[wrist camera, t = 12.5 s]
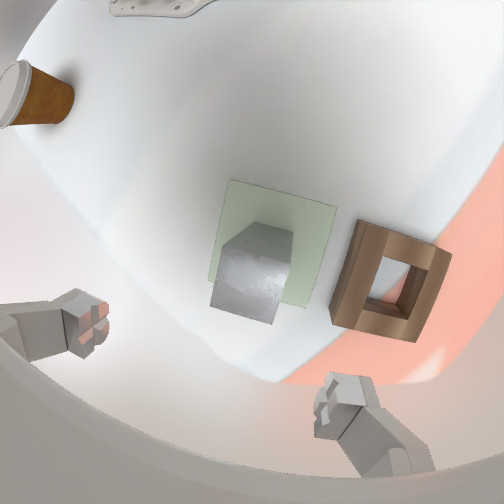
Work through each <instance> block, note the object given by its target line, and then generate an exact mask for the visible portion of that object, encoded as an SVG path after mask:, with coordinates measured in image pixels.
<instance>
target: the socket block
mask: <svg viewBox="0 0 504 504" xmlns="http://www.w3.org/2000/svg"><path fill="white" fill-rule="evenodd" d="M382 256H384V257H388V258H391V259H394V260H397V261H400V262H404V263H407V264H410V265H411V268H410V271H409V274H408V276H407V279H406V282H405V284H404V287H403V289H402V292H401V294H400V297H399V299H398V302H397V304H396V305H395V304H391V303H387V302H383V301H379V300H376V299H372V298H368V294H369V292H370V289H371V286H372V284H373V281H374V278H375V275H376V273H377V270H378V267H379V264H380V261H381V258H382ZM451 258H452V254H451V253H449V252H447V251H445V250H443V249H441V248H438V247H436V246H434V245H431V244H429V243H426V242H423V241H420V240H418V239H415V238H412V237H409V236H407V235H404V234H401V233H398V232H395V231H392V230H389V229H386V228H383V227H380V226H377V225H374V224H371V223H368V222H365V221H362V220H359V219H358V220H357V223H356V227H355V230H354V234H353V237H352V240H351V243H350V247H349V250H348V253H347V256H346V259H345V262H344V265H343V268H342V271H341V274H340V277H339V280H338V283H337V286H336V289H335V292H334V294H333V297H332V300H331V303H330V305H329V312H330V316H331V321H332V325H335V326H339V327H344V328H348V329H352V330H357V331H361V332H365V333H370V334H374V335H379V336H384V337H388V338H393V339H398V340H403V341H408V342H413V343H416V341H417V339H418V337H419V335H420V333H421V331H422V329H423V327H424V325H425V323H426V321H427V318H428V316H429V314H430V312H431V310H432V307H433V305H434V303H435V300H436V298H437V295H438V293H439V291H440V288H441V285H442V283H443V280H444V278H445V275H446V272H447V269H448V266H449V263H450V261H451Z"/></svg>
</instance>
